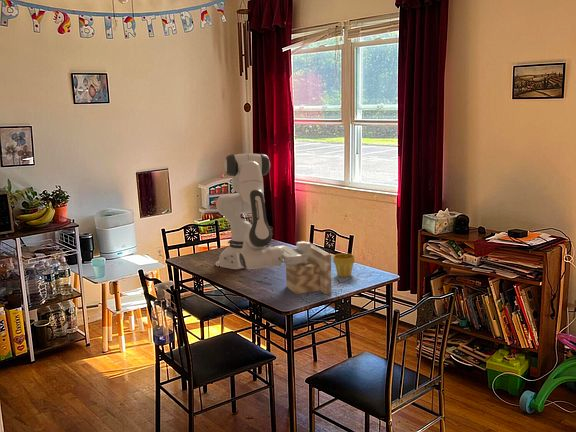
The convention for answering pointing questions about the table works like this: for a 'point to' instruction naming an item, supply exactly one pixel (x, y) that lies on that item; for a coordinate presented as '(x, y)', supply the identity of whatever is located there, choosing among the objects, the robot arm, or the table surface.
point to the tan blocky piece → (311, 273)
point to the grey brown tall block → (303, 250)
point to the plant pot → (343, 264)
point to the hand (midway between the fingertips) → (303, 252)
